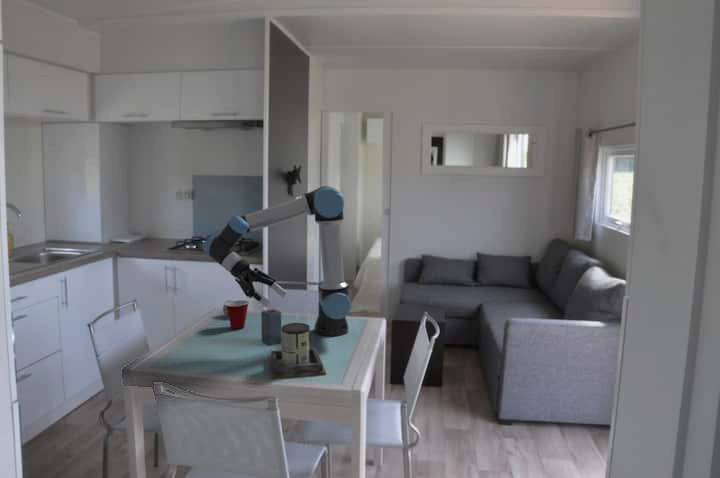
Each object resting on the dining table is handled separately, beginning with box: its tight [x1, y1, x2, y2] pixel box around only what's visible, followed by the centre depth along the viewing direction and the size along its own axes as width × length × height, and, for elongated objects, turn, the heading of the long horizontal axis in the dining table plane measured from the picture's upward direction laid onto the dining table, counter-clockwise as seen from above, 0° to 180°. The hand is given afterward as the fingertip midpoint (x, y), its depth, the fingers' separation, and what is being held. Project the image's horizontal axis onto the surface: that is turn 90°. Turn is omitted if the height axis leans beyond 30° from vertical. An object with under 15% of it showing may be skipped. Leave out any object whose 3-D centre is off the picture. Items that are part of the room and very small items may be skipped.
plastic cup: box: [224, 299, 250, 331], centre depth 237 cm, size 11×11×12 cm
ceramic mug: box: [222, 299, 234, 316], centre depth 257 cm, size 11×8×8 cm
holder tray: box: [268, 347, 327, 380], centre depth 193 cm, size 19×19×4 cm
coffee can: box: [280, 322, 311, 366], centre depth 192 cm, size 10×10×14 cm
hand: (276, 299), depth 203 cm, fingers open, 13 cm apart
